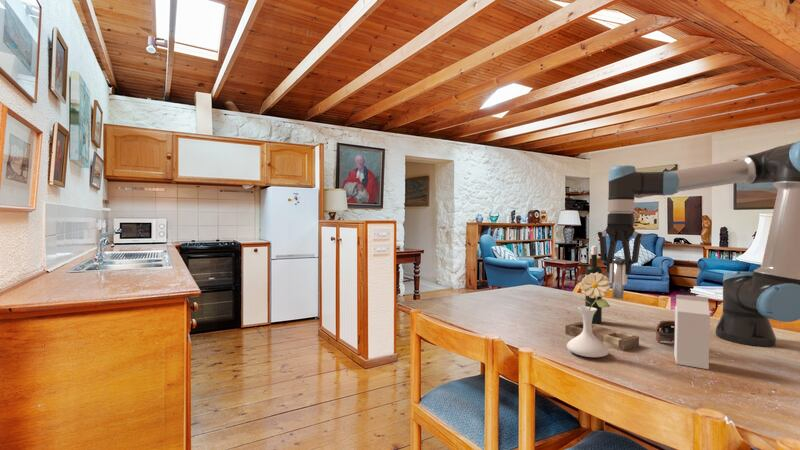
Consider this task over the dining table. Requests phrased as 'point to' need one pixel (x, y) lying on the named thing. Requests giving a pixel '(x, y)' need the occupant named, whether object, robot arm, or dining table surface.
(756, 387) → the dining table surface
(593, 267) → the wine bottle
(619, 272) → the steel pin
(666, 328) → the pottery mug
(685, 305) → the milk carton
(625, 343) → the wooden compartment tray
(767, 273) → the robot arm
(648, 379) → the dining table surface
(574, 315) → the dining table surface
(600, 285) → the flower in vase
